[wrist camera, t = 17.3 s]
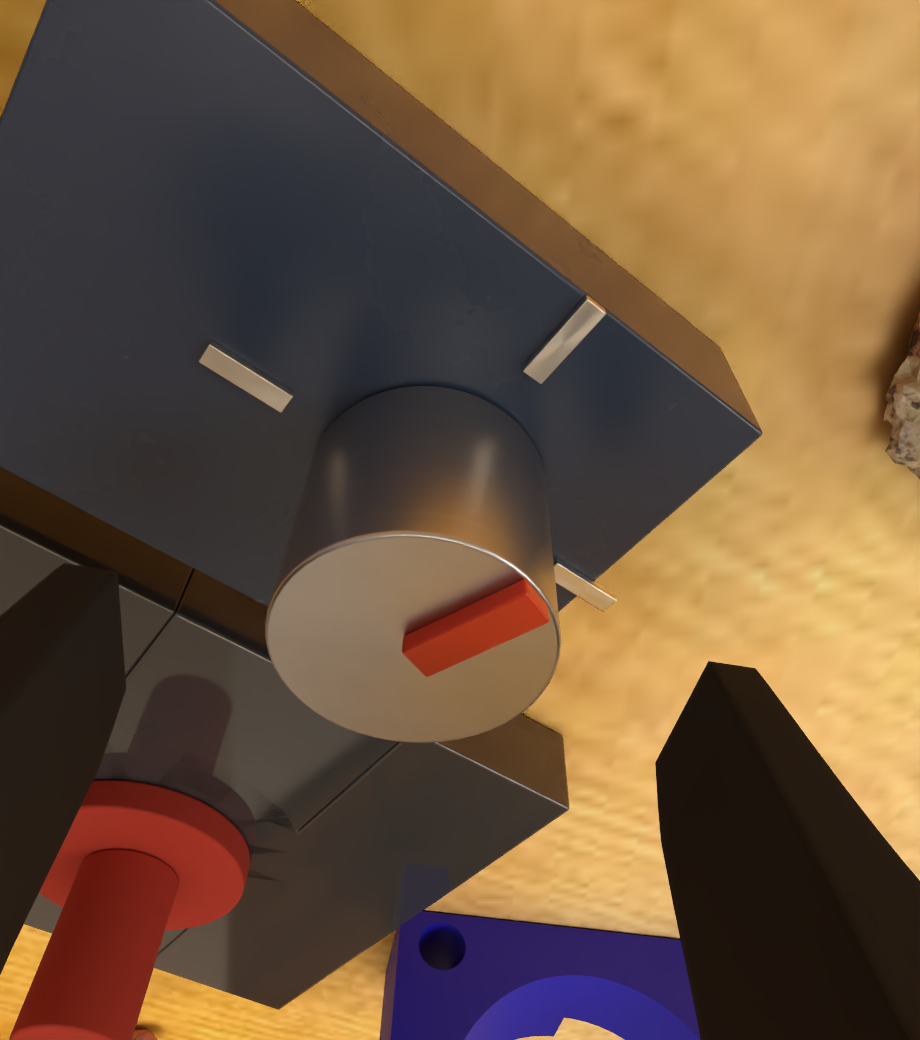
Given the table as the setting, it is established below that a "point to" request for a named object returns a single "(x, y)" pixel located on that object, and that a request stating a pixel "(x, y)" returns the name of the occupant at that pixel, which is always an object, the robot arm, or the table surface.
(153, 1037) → the video game controller
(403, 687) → the tap knob
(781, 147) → the table surface
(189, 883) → the stopper
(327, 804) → the dark marbled square slab
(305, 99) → the rotary dial switch
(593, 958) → the blue semicircular bracket
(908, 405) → the mineral rock
